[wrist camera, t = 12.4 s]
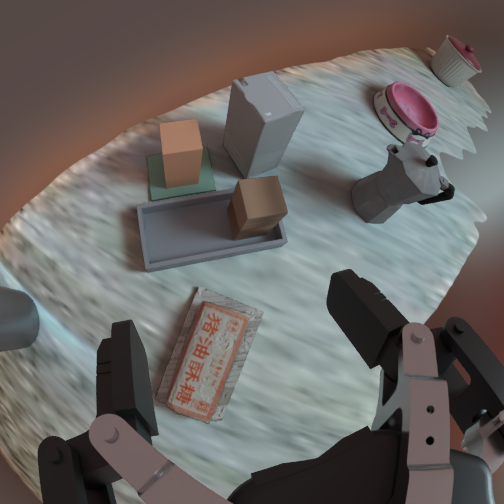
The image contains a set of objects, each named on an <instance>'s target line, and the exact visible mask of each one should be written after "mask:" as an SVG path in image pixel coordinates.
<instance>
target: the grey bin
mask: <svg viewBox="0 0 504 504" xmlns="http://www.w3.org/2000/svg"><path fill="white" fill-rule="evenodd" d="M234 190H235V189H231V190H223V191H217V192H210V193H203V194H197V195H191V196H185V197H179V198H173V199H167V200H162V201H156V202H151V203H145V204H140V205H137V213H138V221H139V229H140V236H141V243H142V250H143V257H144V263H145V269H146V270H147V271H148V272H154V271H159V270H164V269H170V268H175V267H180V266H185V265H190V264H195V263H201V262H206V261H211V260H216V259H221V258H226V257H232V256H237V255H242V254H247V253H252V252H257V251H262V250H268V249H273V248H278V247H282V246H283V245H284V244H286V243H287V242H288V241H287V237H286V234H285V230H284V226H283V222H282V219H281V220H280V221H279V223H278V224H277V225H276V226H275V227H274V228H273V229H272V230H271V231H270V232H269V233H268V234H267V235H265V236H259V237H253V238H248V239H242V240H237V241H234V239H233V234H232V230H231V225H230V221H229V217H228V212H227V208H228V205H229V203H230V200H231V198H232V195H233V193H234Z"/></svg>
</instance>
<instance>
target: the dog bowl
mask: <svg viewBox="0 0 504 504" xmlns="http://www.w3.org/2000/svg"><path fill="white" fill-rule="evenodd" d="M373 106H374V109H375V112H376V114H377V116H378V118H379V120H380V121H381V123H382V124H383V126H384V127H385V128H386V129H387V130H388V131H389V132H390V134H391V135H393V136H394V137H395V138H396V139H397V140H398V141H400V142H401V143H403V144H404V143H405V142H406V141H408V142H412V143H415V144H418V145H422V146H423V147H424V148H425V147H426V146H427V145H428V143H429V141H430V140H431V138H432V137H433V136H434V135H435V133H436V131H437V129H438V125H439V122H438V117H437V115H436V112H435V110H434V109H433V107H432V106H431V104H430V103H429V101H428V100H427V99H426V98H425V97H424V96H423V95H422V94H421V93H420V92H419V91H418V90H416V89H415V88H413V87H412V86H410V85H408V84H406V83H403V82H395V83H393V84H391V85H389V86H387V87H386V88H384V89H383V90H381V91H379V92H377V93H376V94H375V95H374V97H373Z"/></svg>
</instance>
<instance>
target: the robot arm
mask: <svg viewBox="0 0 504 504" xmlns="http://www.w3.org/2000/svg"><path fill="white" fill-rule="evenodd" d="M327 308H328V311H329V313H330V315H331V316H332V317H333V319H334V320H335V321H336V323H337V324H338V325H339V327H340V328H341V329H342V331H343V332H344V333H345V335H346V336H347V338H348V339H349V340H350V342H351V343H352V344H353V346H354V347H355V348H356V350H357V351H358V353H359V354H360V355H361V357H362V358H363V360H364V361H365V362H366V364H367V365H368V366H369V368H370V369H372V368H374V367H376V366H378V365H380V366H381V367H382V369H381V372H380V386H379V399H378V409H377V413H376V416H375V418H374V421H373V424H372V428H371V430H370V429H369V427H368V426H366V427H364V428H362V429H360V430H359V431H357V432H355V433H353V434H351V435H349V436H347V437H345V438H343V439H341V440H340V441H339V442H338V443H336V444H335V445H334V446H333V447H331V448H330V449H329V450H328V451H326V452H325V453H324V454H322V455H321V456H320V457H318V458H316V459H310V460H304V461H297V462H290V463H282V464H279V465H276V466H273V467H270V468H267V469H264V470H261V471H257V472H254V473H251V479H249V480H247V481H245V482H244V483H243V484H241V485H240V486H239V487H238V488H236V489H235V490H234V491H233V492H232V494H231V495H230V496H229V497H228V499H227V500H226V499H224V498H223V497H221V496H220V495H218V494H216V493H215V492H213V491H212V490H210V489H209V488H207V487H206V486H204V485H203V484H201V483H200V482H198V481H197V480H196V479H194V478H193V477H191V476H190V475H189V474H187V473H186V472H185V471H183V470H182V469H181V468H179V467H178V466H177V465H175V464H174V463H173V462H171V461H170V460H168V459H167V458H166V457H165V456H163V455H162V454H161V453H160V452H159V451H157V450H156V449H155V448H154V447H153V445H152V440H151V436H157V435H159V433H158V428H157V423H156V417H155V412H154V406H153V399H152V393H151V386H150V378H149V371H148V362H147V356H146V352H145V349H144V346H143V343H142V341H141V339H140V337H139V335H138V332H137V330H136V328H135V325H134V323H133V321H132V320H126V321H120V322H115V323H112V329H111V338H107V339H103V340H102V342H101V344H100V346H99V348H98V350H97V370H96V373H97V376H96V398H97V415H96V419H95V420H94V421H93V422H92V424H91V426H90V429H89V430H88V431H87V432H85V433H83V434H81V435H79V436H76V437H74V438H71V439H69V440H67V441H65V440H63V439H62V438H60V437H57V436H50V437H47V438H45V439H44V440H43V441H42V442H41V444H40V445H39V448H38V466H39V476H40V485H41V492H42V498H43V504H116V500H115V496H114V492H113V488H112V484H111V483H113V482H115V481H118V480H120V479H122V478H124V479H125V480H126V481H127V482H128V483H129V484H130V485H131V486H132V487H133V488H134V489H135V490H136V491H137V492H138V495H139V497H140V498H141V499H142V500H143V501H144V502H145V503H146V504H496V503H495V499H494V494H493V484H492V483H493V482H492V474H493V473H494V472H495V471H496V470H497V469H498V468H499V467H500V465H501V464H502V463H503V462H504V366H503V365H502V364H501V362H500V361H499V360H498V359H497V357H496V356H495V355H494V354H493V352H492V351H491V350H490V349H489V347H488V346H487V345H486V344H485V343H484V341H483V340H482V339H481V338H480V337H479V336H478V334H477V333H476V332H475V331H474V330H473V329H472V327H471V326H470V325H469V324H468V323H467V322H466V321H465V320H463V319H461V318H458V317H451V318H449V319H448V320H447V322H446V324H445V325H444V327H441V328H435V329H429V328H427V327H426V326H425V325H423V324H420V323H415V322H414V323H410V322H409V321H408V320H407V319H406V318H405V317H404V316H403V315H402V314H401V313H400V312H399V311H398V310H397V308H396V307H395V306H394V305H393V304H392V303H391V302H390V301H389V300H387V299H386V297H385V296H384V295H383V294H382V293H380V290H379V289H378V288H377V287H376V286H375V285H374V284H373V283H371V282H369V281H368V280H366V279H364V278H359V277H358V276H357V275H356V274H355V272H354V271H352V270H351V269H346V270H343V271H339V272H336V273H333V274H332V276H331V280H330V285H329V290H328V295H327ZM38 330H39V315H38V311H37V308H36V306H35V303H34V302H33V300H32V299H31V298H30V297H29V295H27V294H26V293H25V292H22V291H19V290H14V289H10V288H6V287H1V286H0V352H1V351H8V350H16V349H22V348H26V347H29V346H30V345H31V344H32V343H33V342H34V341H35V339H36V337H37V335H38ZM456 359H458V361H459V362H460V363H461V364H462V366H463V367H464V368H465V370H466V371H467V372H468V374H469V375H470V378H471V383H470V385H468V384H467V383H466V381H465V380H464V378H463V377H462V376H461V374H460V373H459V372H458V370H457V369H456V368H455V366H454V365H453V362H454V361H455V360H456ZM449 412H450V413H451V415H452V416H453V418H454V420H455V421H456V423H457V424H458V426H459V428H460V429H461V431H462V432H463V434H464V436H465V438H464V440H463V441H462V443H461V447H462V449H463V450H464V451H468V453H465V452H461V451H457V450H454V449H450V420H449V419H450V418H449Z"/></svg>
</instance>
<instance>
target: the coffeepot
mask: <svg viewBox="0 0 504 504" xmlns="http://www.w3.org/2000/svg"><path fill="white" fill-rule="evenodd" d="M387 150H388V152H389V156H388V162H387V164H386V166H385V167H384V169H383V170H382V171H378V172H376V173H373V174H371V175H369V176H367V177H364V178H362V179H360V180H359V181H358V182H357V184H356V185H355V186H354V188H353V189H352V190H351V194H352V202H353V205H354V208H355V210H356V211H357V213H358V214H359V215H360V216H361V217H362V218H363V219H364V220H366V221H367V222H368V223H374V224H375V223H384V222H385V221H386V220H387V219H388V218H389V217H391V216H392V215H393V214H394V213H395V212H396V211H397V210H398V209H399V208H400V207H401V206H402V204H410V203H414V202H418V203H419V204H421V205H425V204H430V203H435V202H440V201H445V200H450V199H452V198H453V196H454V191H455V188H454V186H453V185H452V184H450V183H448V180H447V179H445V178H444V177H443V176H440V173H439V169H438V166H437V164H438V161H437V159H436V157H435V156H434V155H430V154H429V153H428V152H427V151H426V150H425V149H424V147H423V146H422V145H418V144H415V143H412V142H408V141H406V142H405V143H404V145H403V146H398V145H393V144H391V145H389V146H387ZM440 189H441V190H443V191H444V192H442V193H439V194H438V192H439V190H440Z"/></svg>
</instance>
